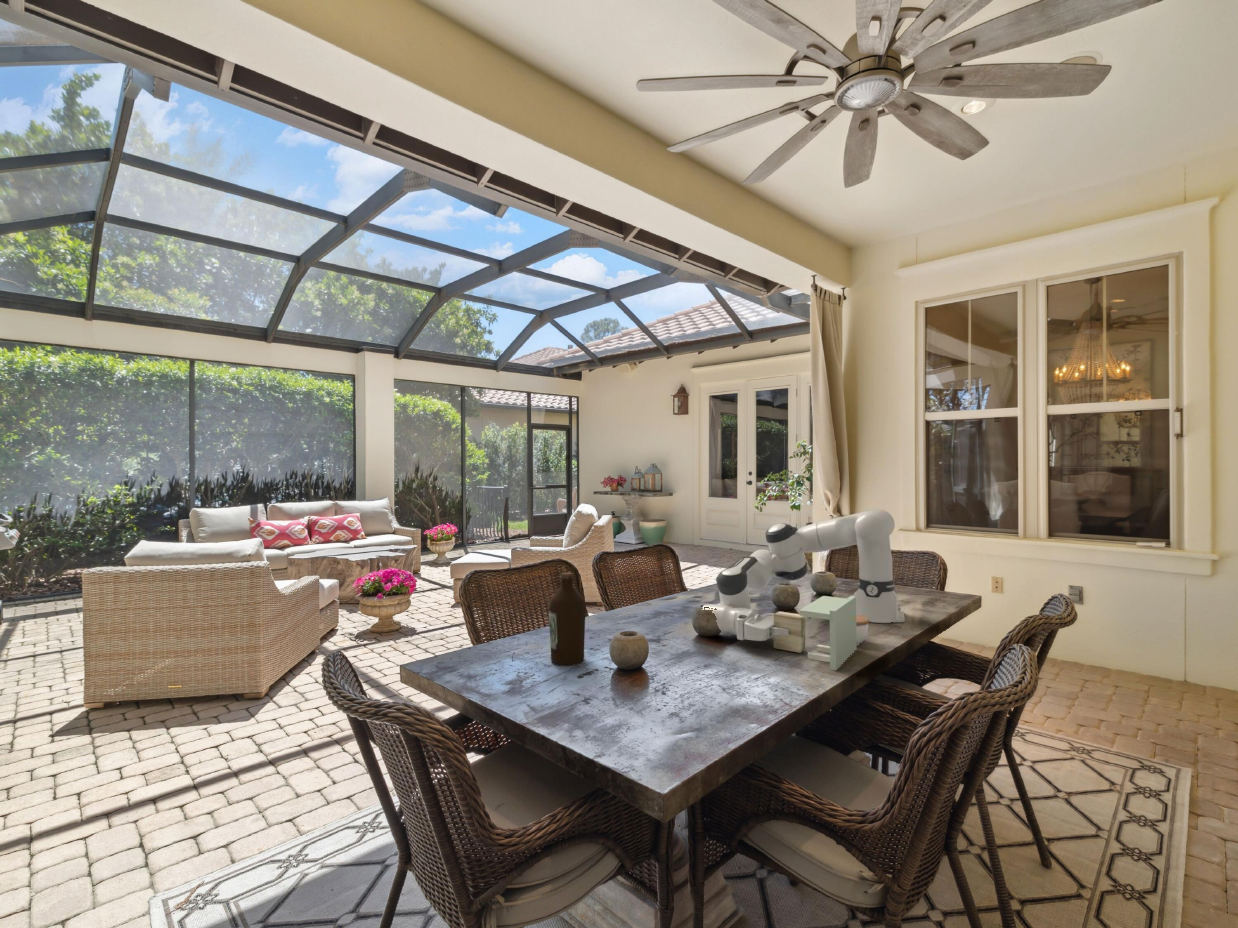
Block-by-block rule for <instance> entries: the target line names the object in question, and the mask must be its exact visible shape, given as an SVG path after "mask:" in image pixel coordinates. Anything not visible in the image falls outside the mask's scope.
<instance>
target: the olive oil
mask: <svg viewBox="0 0 1238 928" xmlns="http://www.w3.org/2000/svg"><path fill="white" fill-rule="evenodd" d="M560 575H561V577H560V587H559V588H558V589H557V591H556V592H555V593H554V594H553V595H552V596H551V598H550V601H549V604H548V625H549V641H550V642H549V643H550V661H551V663H552V664H554V665H556V664H557V665H556V666H562V665H563V666H565V667H566V666H568V667H569V666H575V665H579V664H582V663H583V662H584V661H585V637H586V635H585V633H586V613H587V612H586V611H587V610H586V609H587V608H586V607H587V604H586V602H585V599H584V596H582V594H581V593H580V592H579V591H578V590H577V589H576V588H575V586H574V580H573V579H574V578H573V572H571V571H568V572H562V573H561V574H560ZM581 662H582V663H581Z"/></svg>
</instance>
